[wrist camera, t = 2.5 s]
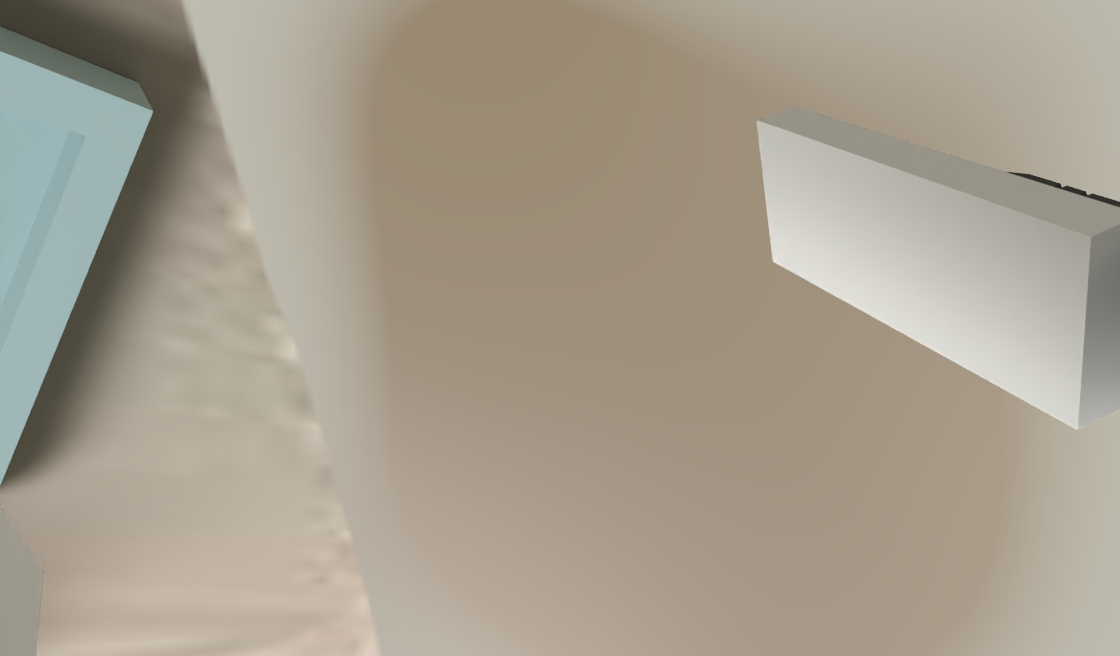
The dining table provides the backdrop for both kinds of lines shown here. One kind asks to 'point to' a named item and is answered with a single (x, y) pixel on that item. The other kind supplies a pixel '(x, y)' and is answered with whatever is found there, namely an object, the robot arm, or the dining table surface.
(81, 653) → the dining table surface
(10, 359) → the parts bin
